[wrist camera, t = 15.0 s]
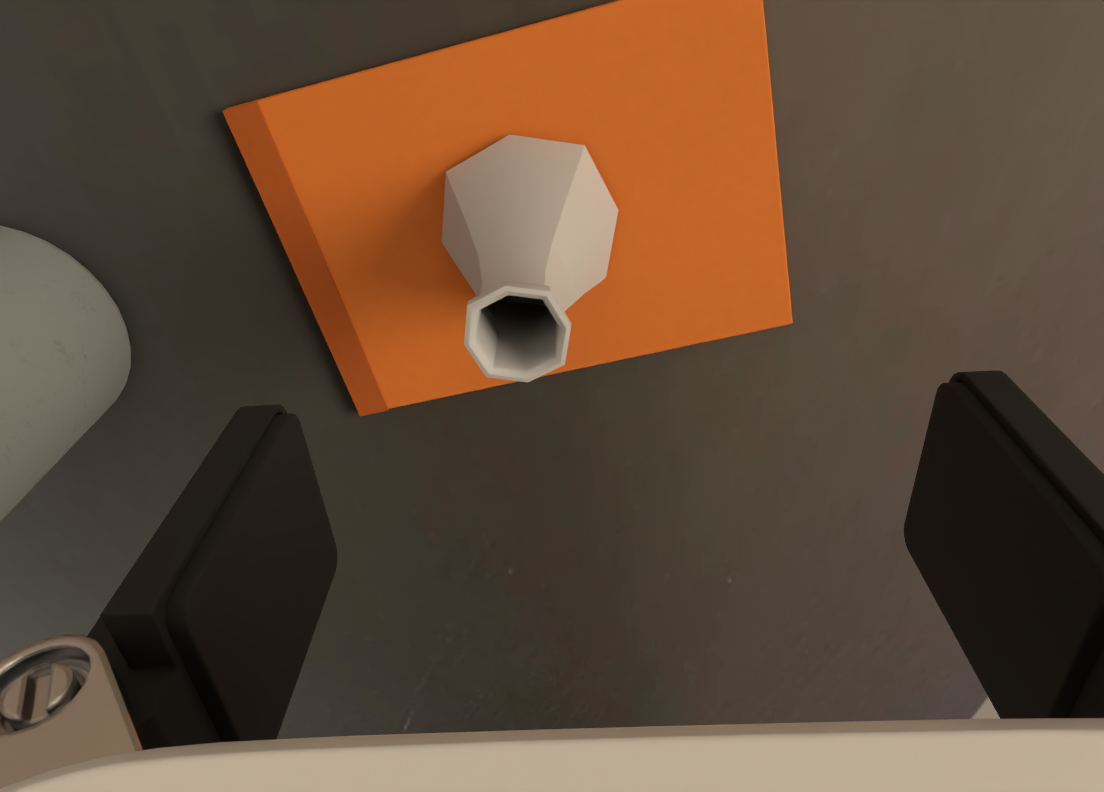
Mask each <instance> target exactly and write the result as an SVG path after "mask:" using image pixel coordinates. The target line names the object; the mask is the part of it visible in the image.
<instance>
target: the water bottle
mask: <svg viewBox="0 0 1104 792" xmlns="http://www.w3.org/2000/svg"><path fill="white" fill-rule="evenodd" d="M130 367H131V346H130V341H129V337H128V332H127V328H126V325H125V322H124V320H123V318H122V316H121V313H120V311H119V309H118V307H117V305H116V304H115V302H114V301H113V299H112V298H111V296H110V295H109V293H108V292H107V290H106V289H105V288H104V286H103V285H102V284H101V283H100V282H99V281H98V280H97V279H96V278H95V277H94V276H93V275H92V273H91V272H90V271H89V270H88V269H86V268H85V267H84V266H83V265H81V264H80V263H79V262H78V261H76V260H75V259H74V258H73V257H72V256H70V255H69V254H67V253H66V252H64V251H62V250H61V249H59V248H57V247H56V246H54V245H52V244H51V243H49V242H47V241H45V240H42V239H40V238H38V237H35V236H33V235H31V234H28V233H26V232H23V231H20V230H16V229H12V228H8V227H4V226H0V521H1V520H2V519H3V518H4V517H5V516H6V515H7V514H8V513H9V512H10V511H11V510H12V509H13V508H14V507H15V506H16V505H17V504H18V502H19V501H20V500H21V499H22V498H23V497H24V496H25V495H26V494H27V493H28V492H29V491H30V490H31V489H32V488H33V487H34V486H35V485H36V484H37V483H38V482H39V481H40V480H41V478H42V477H43V476H44V475H45V474H46V473H47V472H48V471H49V470H50V469H51V468H52V467H53V466H54V465H55V464H56V463H57V462H58V461H59V460H60V459H61V458H62V457H63V456H64V454H65V453H66V452H67V451H68V450H69V449H70V448H71V447H72V446H73V445H74V444H75V443H76V442H77V441H78V440H79V439H80V438H81V437H82V436H83V435H84V434H85V433H86V431H87V430H88V429H89V428H90V427H91V426H92V425H93V424H94V423H95V422H96V421H97V420H98V419H99V418H100V417H101V416H102V415H103V414H104V413H105V412H106V411H107V410H108V409H109V407H110V406H111V405H112V404H113V403H114V402H115V401H116V400H117V399H118V397H119V395H120V393H121V392H122V390H123V388H124V387H125V385H126V382H127V379H128V375H129V371H130Z"/></svg>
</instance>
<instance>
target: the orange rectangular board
mask: <svg viewBox="0 0 1104 792" xmlns="http://www.w3.org/2000/svg"><path fill="white" fill-rule="evenodd" d="M222 112H223V114H224V116H225V118H226V120H227V123H228V125H229V127H230V129H231V132H232V134H233V136H234V138H235V140H236V143H237V145H238V147H239V149H240V151H241V154H242V156H243V158H244V160H245V163H246V165H247V167H248V169H249V171H250V174H251V176H252V178H253V180H254V182H255V185H256V187H257V189H258V191H259V194H260V196H261V198H262V200H263V202H264V205H265V207H266V209H267V211H268V214H269V216H270V218H271V220H272V222H273V225H274V227H275V229H276V231H277V233H278V236H279V238H280V240H281V242H282V245H283V247H284V249H285V251H286V253H287V256H288V258H289V260H290V262H291V264H292V267H293V269H294V271H295V273H296V276H297V278H298V280H299V282H300V284H301V287H302V289H303V291H304V293H305V295H306V298H307V300H308V302H309V304H310V307H311V309H312V311H313V313H314V315H315V318H316V320H317V322H318V324H319V326H320V329H321V331H322V333H323V335H324V338H325V340H326V342H327V344H328V346H329V349H330V351H331V353H332V355H333V358H334V360H335V362H336V364H337V366H338V369H339V371H340V373H341V375H342V377H343V380H344V382H345V384H346V386H347V389H348V391H349V393H350V395H351V397H352V400H353V402H354V404H355V406H356V408H357V411H358V413H359V415H360V416H364V415H369V414H373V413H378V412H383V411H388V409H390V408H395V407H399V406H404V405H409V404H414V403H418V402H423V401H428V400H433V399H437V398H442V397H447V396H451V395H456V394H461V393H466V392H470V391H475V390H480V389H485V388H489V387H494V386H499V385H504V384H508V383H513V382H518V381H513V380H505V379H497V378H488V377H486V376H485V374H484V373H483V371H482V370H481V369H480V367H479V366H478V364H477V363H476V361H475V360H474V358H473V357H472V356H471V354H470V353H469V351H468V350H467V348H466V347H465V345H464V338H465V326H466V314H467V303H468V301H469V300H471V299H473V298H474V297H476V294H475V292H474V291H473V289H472V288H471V286H470V285H469V283H468V282H467V280H466V279H465V277H464V276H463V274H462V273H461V271H460V270H459V268H458V267H457V265H456V264H455V262H454V261H453V259H452V258H451V256H450V254H449V253H448V251H447V250H446V248H445V247H444V245H443V244H442V226H443V210H444V194H445V178H446V171H448V170H450V169H451V168H453V167H455V166H456V165H458V164H460V163H462V162H463V161H465V160H467V159H468V158H470V157H472V156H474V155H475V154H477V153H479V152H480V151H482V150H484V149H486V148H487V147H489V146H491V145H492V144H494V143H496V142H498V141H499V140H501V139H503V138H504V137H506V136H508V135H517V136H524V137H531V138H538V139H545V140H552V141H559V142H566V143H573V144H580V145H585V147H586V149H587V151H588V152H589V154H590V156H591V158H592V160H593V162H594V164H595V166H596V168H597V170H598V172H599V174H600V176H601V177H602V179H603V181H604V183H605V185H606V187H607V189H608V191H609V193H610V195H611V197H612V199H613V201H614V202H615V204H616V206H617V208H618V216H617V221H616V226H615V232H614V237H613V243H612V248H611V253H610V259H609V264H608V269H607V275H606V278H605V279H603V280H602V281H601V282H600V283H598V284H597V285H596V286H594V287H593V288H591V289H590V290H589V291H587V292H586V293H584V294H583V295H582V296H581V297H580V298H579V299H578V300H577V301H576V302H574V303H573V304H572V305H571V306H570V307H569V308H568V309H567V310H566V311H565V313H566V315H567V317H568V318H569V320H570V322H571V331H570V337H569V343H568V349H567V355H566V361H565V365H563V366H561V367H559V368H557V369H555V370H553V371H551V372H549V373H547V374H545V375H542V376H546V375H551V374H556V373H560V372H565V371H570V370H575V369H579V368H584V367H589V366H594V365H598V364H603V363H608V362H613V361H617V360H622V359H627V358H632V357H636V356H641V355H646V354H650V353H655V352H660V351H665V350H669V349H674V348H679V347H684V346H688V345H693V344H698V343H703V342H707V341H712V340H717V339H722V338H726V337H731V336H736V335H740V334H745V333H750V332H755V331H759V330H764V329H769V328H774V327H778V326H783V325H788V324H792V311H791V300H790V289H789V278H788V267H787V257H786V246H785V235H784V224H783V213H782V202H781V191H780V180H779V169H778V158H777V148H776V137H775V126H774V115H773V104H772V93H771V82H770V71H769V60H768V49H767V39H766V28H765V17H764V6H763V0H617V1H614V2H610V3H606V4H603V5H599V6H595V7H592V8H588V9H585V10H581V11H577V12H574V13H570V14H566V15H563V16H559V17H556V18H552V19H548V20H545V21H541V22H537V23H534V24H530V25H526V26H523V27H519V28H516V29H512V30H508V31H505V32H501V33H497V34H494V35H490V36H487V37H483V38H479V39H476V40H472V41H468V42H465V43H461V44H458V45H454V46H450V47H447V48H443V49H439V50H436V51H432V52H429V53H425V54H421V55H418V56H414V57H410V58H407V59H403V60H400V61H396V62H392V63H389V64H385V65H381V66H378V67H374V68H370V69H367V70H363V71H360V72H356V73H352V74H349V75H345V76H341V77H338V78H334V79H331V80H327V81H323V82H320V83H316V84H312V85H309V86H305V87H302V88H298V89H294V90H291V91H287V92H283V93H280V94H276V95H273V96H269V97H265V98H262V99H258V100H254V101H251V102H247V103H244V104H240V105H236V106H233V107H229V108H227V109H225V110H223V111H222ZM540 377H541V376H540Z"/></svg>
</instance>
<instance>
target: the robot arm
mask: <svg viewBox="0 0 1104 792" xmlns="http://www.w3.org/2000/svg"><path fill="white" fill-rule="evenodd" d="M904 537H905V542H906V546H907V548H908V551H909V552H910V554H911V556H912V558H913V560H914V562H915V563H916V565H917V567H918V569H919V571H920V573H921V574H922V576H923V578H924V580H925V582H926V584H927V585H928V587H929V589H930V591H931V593H932V594H933V596H934V598H935V600H936V602H937V604H938V605H939V607H940V609H941V611H942V613H943V615H944V616H945V618H946V620H947V622H948V624H949V626H950V627H951V629H952V631H953V633H954V635H955V637H956V638H957V640H958V642H959V644H960V646H961V647H962V649H963V651H964V653H965V655H966V657H967V658H968V660H969V662H970V664H971V666H972V668H973V669H974V671H975V673H976V675H977V677H978V679H979V680H980V682H981V684H982V686H983V688H984V689H985V691H986V693H987V695H988V697H989V699H990V700H991V702H992V704H993V706H994V708H995V710H996V711H997V713H998V715H999V717H1000V719H948V720H902V721H856V722H811V723H767V724H729V725H691V726H653V727H618V728H582V729H547V730H514V731H484V732H453V733H423V734H392V735H362V736H335V737H315V738H295V739H277V736H278V733H279V730H280V727H281V725H282V722H283V719H284V716H285V713H286V710H287V708H288V705H289V702H290V699H291V696H292V693H293V690H294V688H295V685H296V682H297V679H298V676H299V673H300V671H301V668H302V665H303V662H304V659H305V656H306V654H307V651H308V648H309V645H310V642H311V639H312V636H313V634H314V631H315V628H316V625H317V622H318V619H319V617H320V614H321V611H322V608H323V605H324V602H325V599H326V597H327V594H328V591H329V588H330V585H331V582H332V580H333V577H334V574H335V571H336V566H337V548H336V544H335V541H334V537H333V534H332V530H331V527H330V523H329V520H328V517H327V513H326V510H325V506H324V503H323V499H322V496H321V493H320V489H319V486H318V482H317V479H316V476H315V472H314V469H313V465H312V462H311V458H310V455H309V452H308V448H307V445H306V441H305V438H304V434H303V431H302V428H301V424H300V421H299V419H298V417H297V416H296V415H295V414H287V412H286V410H285V409H284V407H283V406H281V405H264V406H244V407H240V408H239V409H238V410H237V411H236V413H235V414H234V416H233V417H232V419H231V420H230V422H229V423H228V425H227V426H226V428H225V429H224V431H223V432H222V434H221V435H220V437H219V438H218V440H217V441H216V443H215V444H214V446H213V447H212V449H211V450H210V452H209V453H208V455H207V456H206V458H205V459H204V461H203V462H202V464H201V465H200V467H199V468H198V470H197V471H196V473H195V474H194V476H193V477H192V479H191V480H190V482H189V483H188V485H187V486H186V488H185V489H184V491H183V492H182V494H181V495H180V497H179V498H178V500H177V501H176V503H175V504H174V506H173V507H172V509H171V510H170V512H169V513H168V515H167V516H166V518H165V519H164V521H163V522H162V524H161V525H160V527H159V528H158V530H157V531H156V533H155V534H154V536H153V537H152V539H151V540H150V542H149V543H148V545H147V546H146V548H145V549H144V550H143V552H142V553H141V555H140V556H139V558H138V559H137V561H136V562H135V564H134V565H133V567H132V568H131V570H130V571H129V573H128V574H127V576H126V577H125V579H124V580H123V582H122V583H121V585H120V586H119V588H118V589H117V591H116V592H115V594H114V595H113V597H112V598H111V600H110V601H109V603H108V604H107V606H106V607H105V609H104V610H103V612H102V613H101V615H100V618H99V619H98V621H97V622H96V624H95V625H94V627H93V628H92V630H91V631H90V633H89V634H88V636H87V637H86V636H84V635H62V636H57V637H52V638H47V639H44V640H41V641H39V642H36V643H34V644H31V645H28V646H26V647H24V648H22V649H20V650H18V651H17V652H15V653H13V654H12V655H10V656H8V657H6V658H5V659H3V660H2V661H0V792H1104V474H1103V473H1102V472H1101V471H1100V470H1099V469H1098V468H1097V467H1096V466H1095V465H1094V464H1093V463H1092V462H1091V461H1090V460H1089V459H1088V458H1087V457H1086V456H1085V455H1084V454H1083V453H1082V452H1081V451H1080V450H1079V449H1078V448H1077V447H1076V446H1075V445H1074V444H1073V443H1072V442H1071V441H1070V439H1069V438H1068V437H1067V436H1066V435H1065V434H1064V433H1063V432H1062V431H1061V430H1060V429H1059V428H1058V427H1057V426H1056V425H1055V424H1054V423H1053V422H1052V421H1051V420H1050V419H1049V418H1048V417H1047V416H1046V415H1045V414H1044V413H1043V412H1042V411H1041V410H1040V409H1039V408H1038V407H1037V406H1036V405H1035V404H1034V403H1033V402H1032V401H1031V400H1030V398H1029V397H1028V396H1027V395H1026V394H1025V393H1024V392H1023V391H1022V390H1021V389H1020V388H1019V387H1018V386H1017V385H1016V384H1015V383H1014V382H1013V381H1012V380H1011V379H1010V378H1009V377H1008V376H1007V375H1006V374H1005V373H1003V372H1002V371H977V372H958V373H956V374H954V375H953V376H952V378H951V379H950V381H949V383H943V384H941V385H940V386H939V388H938V390H937V393H936V396H935V400H934V405H933V409H932V413H931V417H930V421H929V425H928V429H927V433H926V438H925V442H924V446H923V450H922V454H921V458H920V462H919V466H918V470H917V475H916V479H915V483H914V487H913V491H912V495H911V499H910V503H909V508H908V512H907V516H906V520H905V525H904Z"/></svg>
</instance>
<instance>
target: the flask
mask: <svg viewBox="0 0 1104 792" xmlns="http://www.w3.org/2000/svg"><path fill="white" fill-rule="evenodd" d="M617 216H618V208H617V206H616V204H615V202H614V201H613V199H612V197H611V195H610V193H609V191H608V189H607V187H606V185H605V183H604V181H603V179H602V177H601V176H600V174H599V172H598V170H597V168H596V166H595V164H594V162H593V160H592V158H591V156H590V154H589V152H588V151H587V149H586V147H585V145H580V144H573V143H566V142H559V141H552V140H545V139H538V138H531V137H524V136H517V135H508V136H506V137H504V138H503V139H501V140H499V141H498V142H496V143H494V144H492V145H491V146H489V147H487V148H486V149H484V150H482V151H480V152H479V153H477V154H475V155H474V156H472V157H470V158H468V159H467V160H465V161H463V162H462V163H460V164H458V165H456V166H455V167H453V168H451V169H450V170H448V171H446V178H445V194H444V210H443V226H442V244H443V245H444V247H445V248H446V250H447V251H448V253H449V254H450V256H451V258H452V259H453V261H454V262H455V264H456V265H457V267H458V268H459V270H460V271H461V273H462V274H463V276H464V277H465V279H466V280H467V282H468V283H469V285H470V286H471V288H472V289H473V291H474V292H475V294H476V297H474V298H473V299H471V300H469V301H468V303H467V314H466V326H465V338H464V345H465V347H466V348H467V350H468V351H469V353H470V354H471V356H472V357H473V358H474V360H475V361H476V363H477V364H478V366H479V367H480V369H481V370H482V371H483V373H484V374H485V376H486V377H488V378H497V379H505V380H513V381H521V382H530V381H532V380H534V379H536V378H538V377H540V376H542V375H545V374H547V373H549V372H551V371H553V370H555V369H557V368H559V367H561V366H563V365H565V361H566V355H567V349H568V343H569V337H570V331H571V322H570V320H569V318H568V317H567V315H566V313H565V311H566V310H567V309H568V308H569V307H570V306H571V305H572V304H573V303H574V302H576V301H577V300H578V299H579V298H580V297H581V296H582V295H583V294H584V293H586V292H587V291H589V290H590V289H591V288H593V287H594V286H596V285H597V284H598V283H600V282H601V281H602V280H603V279H605V278H606V275H607V269H608V264H609V259H610V253H611V248H612V243H613V237H614V232H615V226H616V221H617Z"/></svg>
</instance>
